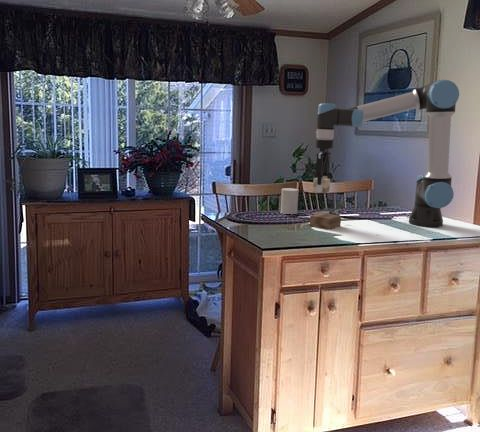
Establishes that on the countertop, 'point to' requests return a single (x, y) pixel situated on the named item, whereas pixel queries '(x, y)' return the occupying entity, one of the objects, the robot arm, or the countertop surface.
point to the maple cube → (325, 185)
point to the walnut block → (325, 221)
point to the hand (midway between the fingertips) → (321, 191)
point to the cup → (289, 201)
